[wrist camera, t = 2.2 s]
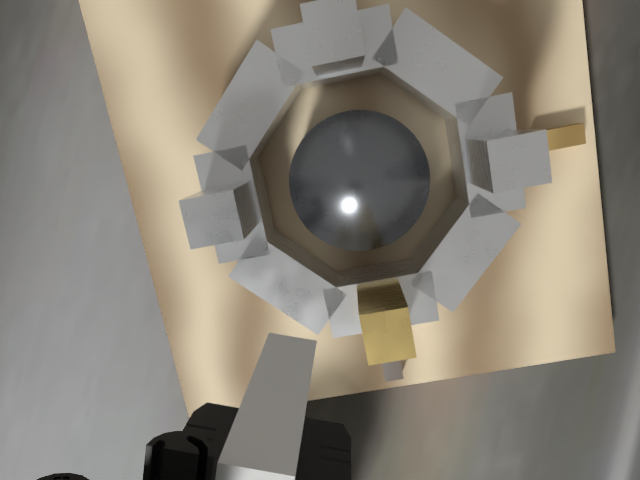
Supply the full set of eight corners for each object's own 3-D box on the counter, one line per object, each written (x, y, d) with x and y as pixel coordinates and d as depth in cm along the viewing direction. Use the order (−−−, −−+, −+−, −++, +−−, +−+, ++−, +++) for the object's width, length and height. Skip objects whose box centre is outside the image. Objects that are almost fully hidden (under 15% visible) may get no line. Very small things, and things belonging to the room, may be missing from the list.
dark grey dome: (308, 246, 29) (304, 261, 25) (284, 125, 27) (275, 125, 24) (428, 224, 28) (440, 237, 25) (408, 100, 27) (418, 96, 23)
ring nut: (250, 331, 29) (222, 392, 23) (187, 59, 27) (133, 36, 20) (517, 285, 28) (573, 336, 21) (480, -4, 26) (530, -52, 19)
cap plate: (196, 406, 33) (185, 426, 30) (87, -11, 28) (65, -23, 26) (602, 341, 31) (623, 358, 28) (557, -119, 26) (577, -142, 24)
